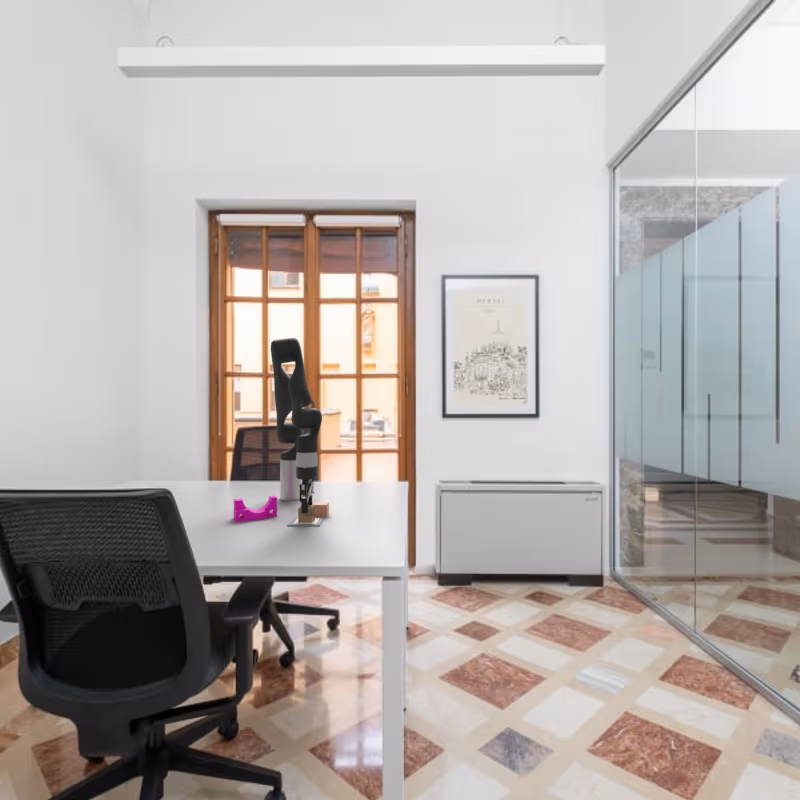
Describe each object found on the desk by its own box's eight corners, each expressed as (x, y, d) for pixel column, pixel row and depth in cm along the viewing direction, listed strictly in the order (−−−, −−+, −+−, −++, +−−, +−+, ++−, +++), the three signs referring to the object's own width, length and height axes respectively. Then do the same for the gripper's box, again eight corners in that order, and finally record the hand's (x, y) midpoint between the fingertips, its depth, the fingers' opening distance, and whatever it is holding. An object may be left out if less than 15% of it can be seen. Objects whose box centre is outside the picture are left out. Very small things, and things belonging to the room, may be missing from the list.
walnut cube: (301, 518, 191) (301, 505, 190) (314, 519, 190) (314, 505, 190) (298, 522, 186) (298, 508, 185) (312, 522, 185) (312, 508, 185)
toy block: (236, 523, 189) (236, 502, 189) (233, 519, 194) (233, 499, 194) (278, 519, 195) (278, 498, 195) (274, 515, 201) (274, 495, 201)
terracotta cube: (315, 515, 200) (315, 502, 200) (328, 515, 200) (328, 502, 200) (313, 518, 195) (313, 505, 195) (326, 518, 195) (326, 505, 195)
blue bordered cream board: (294, 519, 194) (294, 516, 194) (324, 519, 193) (324, 517, 193) (287, 527, 183) (287, 524, 183) (319, 527, 182) (319, 524, 182)
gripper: (300, 461, 195) (300, 505, 195) (291, 467, 181) (292, 515, 181) (320, 462, 195) (320, 506, 195) (313, 467, 180) (314, 515, 181)
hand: (306, 510), depth 188 cm, fingers open, 8 cm apart
